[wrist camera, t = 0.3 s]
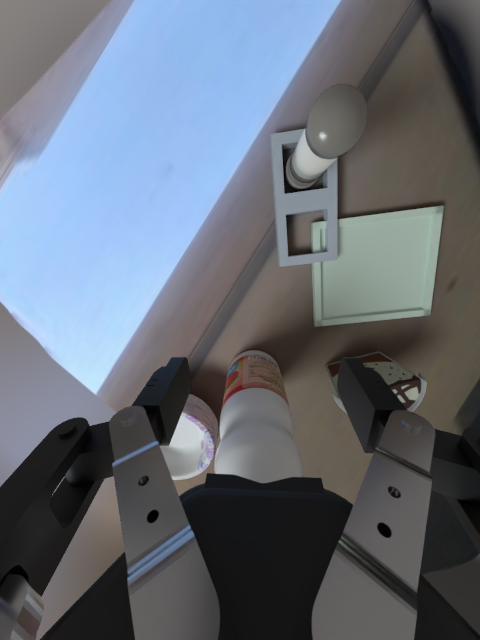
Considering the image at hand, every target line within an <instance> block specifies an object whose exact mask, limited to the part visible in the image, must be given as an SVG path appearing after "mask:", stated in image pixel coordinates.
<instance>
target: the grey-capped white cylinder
mask: <svg viewBox="0 0 480 640" xmlns="http://www.w3.org/2000/svg"><path fill="white" fill-rule="evenodd" d="M367 119H368V109H367V104H366V101H365V98H364V96H363V95H362V93H361V92H360V91H359V90H358V89H357V88H355V87H354V86H351V85H348V84H337V85H334V86H331V87H329V88H328V89H326V90H325V91H324V92H323V93H321V94H320V96H319V97H318V98H317V100H316V101H315V103H314V105H313V107H312V109H311V111H310V114H309V116H308V119H307V122H306V127H305V129H304V131H303V134H302V136H301V138H300V140H299V142H298V144H297V146H296V147H295V149H294V151H293V153H292V154H291V156H290V157H289V159H288V161H287V164H286V166H285V179H286V181H287V183H288V184H289V186H290V187H292V188H293V189H296V190H305V189H308V188H309V187H311V186H312V185H313V184H314V183H315V182H316V181H317V180H318V178H319V177H320V176H321V175H322V174H323V173H324V171H325V170H326V169H327V168H328V167H329V166H330V165H331V164H332V163H333V162H334V161H335V160H336V159H337V158H338V157H340V156H342V155H344V154H345V153H346V152H348V151H349V150H350V149H351V148H352V147H353V146H354V145H355V144H356V143H357V142H358V141H359V139H360V138H361V136H362V134H363V133H364V130H365V128H366V124H367Z"/></svg>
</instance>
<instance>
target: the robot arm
mask: <svg viewBox="0 0 480 640" xmlns="http://www.w3.org/2000/svg"><path fill="white" fill-rule="evenodd" d="M190 390H191V378H190V372H189V366H188V360H187V358H186V357H172V358H171V359H170V361H169V362H168V364H167V366H166V367H161V368H159V369H158V370H157V371H155V372H154V373H153V375H152V376H151V378H150V380H149V381H148V382H147V384H146V386H145V387H144V388H143V390H142V391H141V393H140V394H139V396H138V397H137V399H136V400H135V402H134V403H133V405H132V406H129V407H126V408H124V409H122V410H120V411H118V412H117V413H116V414H115V415H114V416H113V417H112V418H111V420H110V421H109V422H105V423H101V424H97V425H92V426H89V424H88V421H87V420H86V419H84V418H73V419H70V420H67V421H65V422H63V423H61V424H59V425H58V426H56V427H55V428H54V429H53V430H52V431H51V432H50V433H49V434H48V435H47V436H46V437H45V438H44V439H43V440H42V442H41V443H40V444H39V445H38V446H37V447H36V448H35V449H34V450H33V451H32V453H31V454H30V455H29V456H28V457H27V458H26V459H25V460H24V461H23V463H22V464H21V465H20V466H19V467H18V468H17V469H16V470H15V472H13V474H12V475H11V476H10V477H9V478H8V479H7V480H6V481H5V482H4V484H3V485H2V486H1V487H0V640H36V633H37V630H38V628H39V625H40V623H41V620H42V616H43V608H44V607H43V606H44V605H43V600H42V598H41V596H42V595H43V593H44V591H45V589H46V587H47V585H48V583H49V581H50V579H51V578H52V576H53V574H54V572H55V570H56V568H57V566H58V565H59V563H60V561H61V559H62V557H63V555H64V553H65V551H66V549H67V548H68V546H69V544H70V542H71V540H72V538H73V536H74V535H75V533H76V531H77V529H78V527H79V525H80V523H81V521H82V520H83V518H84V516H85V514H86V512H87V510H88V508H89V506H90V504H91V503H92V501H93V499H94V497H95V495H96V493H97V491H98V490H99V488H100V486H101V484H102V482H103V480H104V479H105V478H108V477H112V476H114V480H115V487H116V494H117V501H118V507H119V514H120V521H121V528H122V534H123V541H124V547H125V552H124V553H123V554H122V555H121V556H120V557H119V558H118V559H117V560H116V561H115V562H114V563H113V564H112V565H111V566H110V567H109V568H108V569H107V571H106V572H105V573H104V574H103V575H102V576H101V577H100V578H99V579H98V580H97V581H96V582H95V583H94V584H93V585H92V586H91V587H90V588H89V589H88V590H87V591H86V592H85V593H84V594H83V595H82V596H81V597H80V598H79V599H78V600H77V601H76V602H75V604H74V605H73V606H72V607H71V608H70V609H69V610H68V611H67V612H66V613H65V614H64V615H63V616H62V617H61V618H60V619H59V620H58V621H57V622H56V623H55V624H54V625H53V626H52V627H51V628H50V630H48V631H47V632H46V634H45V635H44V636H43V637H42V638H41V639H40V640H480V635H479V634H478V633H477V632H476V631H475V630H474V629H473V628H472V626H471V625H470V624H469V623H468V622H467V621H466V620H465V619H464V618H463V617H462V616H461V615H460V614H459V613H458V612H457V611H456V610H455V609H454V608H453V607H452V606H451V605H450V604H449V603H448V602H447V601H446V600H445V599H444V598H443V597H442V595H441V594H440V593H439V592H438V591H437V590H436V589H435V588H434V587H433V586H432V585H431V584H430V583H429V582H428V581H427V580H426V579H425V578H424V577H423V576H422V575H421V574H420V567H421V559H422V552H423V545H424V537H425V530H426V523H427V515H428V508H429V500H430V493H431V491H434V492H437V493H440V494H443V495H444V496H445V497H446V499H447V501H448V502H449V504H450V506H451V507H452V509H453V510H454V512H455V514H456V515H457V517H458V519H459V520H460V522H461V524H462V525H463V527H464V529H465V530H466V532H467V534H468V535H469V537H470V538H471V540H472V542H473V543H474V545H475V547H476V548H477V550H478V552H479V553H480V427H468V428H466V429H465V430H464V431H463V434H462V436H460V435H456V434H452V433H448V432H444V431H440V430H437V429H434V427H433V426H432V424H431V423H430V422H429V421H427V420H426V419H425V418H423V417H422V416H420V415H418V414H416V413H413V412H411V411H408V410H407V409H406V408H405V406H404V405H403V404H402V402H401V401H400V400H399V398H398V397H397V396H396V395H395V393H394V392H393V391H392V389H390V387H389V385H388V384H387V383H385V380H384V379H383V378H382V376H381V375H380V374H379V373H378V372H376V371H375V370H373V369H372V368H370V367H365V366H364V365H363V363H362V362H361V360H360V359H359V358H358V357H342V358H341V360H340V366H339V373H338V380H337V390H338V394H339V396H340V398H341V401H342V403H343V405H344V407H345V410H346V412H347V414H348V416H349V418H350V421H351V423H352V425H353V427H354V430H355V432H356V434H357V436H358V438H359V441H360V443H361V445H362V447H363V450H364V452H365V453H374V454H373V456H372V459H371V461H370V464H369V466H368V469H367V472H366V474H365V477H364V479H363V482H362V485H361V487H360V490H359V492H358V495H357V497H356V500H355V503H354V505H352V504H351V503H350V502H348V501H347V500H346V499H344V498H343V497H341V496H339V495H338V494H336V493H334V492H331V491H329V490H326V489H324V488H323V484H322V479H321V478H306V477H290V478H286V479H281V480H277V481H273V482H268V483H259V482H256V481H253V480H250V479H247V478H244V477H240V476H237V475H234V474H210V473H207V476H206V481H205V483H204V484H201V485H198V486H195V487H193V488H191V489H189V490H187V491H186V492H184V493H183V494H181V495H180V496H178V493H177V490H176V488H175V485H174V482H173V480H172V477H171V474H170V472H169V469H168V467H167V464H166V461H165V459H164V456H163V453H162V451H161V448H160V446H169V444H170V442H171V439H172V437H173V434H174V432H175V429H176V427H177V424H178V422H179V419H180V416H181V414H182V411H183V409H184V406H185V404H186V401H187V399H188V396H189V394H190ZM64 476H65V478H64V479H63V477H64ZM62 479H63V481H62V482H61V480H62ZM60 482H61V484H60V485H59V483H60ZM58 485H59V487H58V488H57V486H58ZM56 488H57V490H56V491H55V492H54V490H55V489H56ZM53 492H54V494H53ZM52 494H53V495H52ZM51 496H52V497H51Z"/></svg>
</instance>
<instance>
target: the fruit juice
mask: <svg viewBox="0 0 480 640" xmlns="http://www.w3.org/2000/svg"><path fill="white" fill-rule="evenodd" d="M293 436H294V426H293V420H292V414H291V411H290V407H289V403H288V400H287V396H286V392H285V388H284V384H283V380H282V376H281V372H280V369H279V366H278V364H277V362H276V361H275V360H274V358H273V357H271V356H270V355H269V354H267V353H265V352H262V351H258V350H250V351H245V352H243V353H241V354H239V355H238V356H236V357H235V358H234V359H233V361H232V362H231V364H230V366H229V369H228V374H227V380H226V386H225V392H224V399H223V405H222V411H221V416H220V438H221V442H220V444H219V446H218V449H217V452H216V456H215V474H234V475H237V476H240V477H244V478H247V479H250V480H253V481H256V482H259V483H268V482H273V481H277V480H281V479H286V478H290V477H302V474H303V469H302V461H301V455H300V452H299V450H298V447H297V445H296V443H295V441H294V440H293Z"/></svg>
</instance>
